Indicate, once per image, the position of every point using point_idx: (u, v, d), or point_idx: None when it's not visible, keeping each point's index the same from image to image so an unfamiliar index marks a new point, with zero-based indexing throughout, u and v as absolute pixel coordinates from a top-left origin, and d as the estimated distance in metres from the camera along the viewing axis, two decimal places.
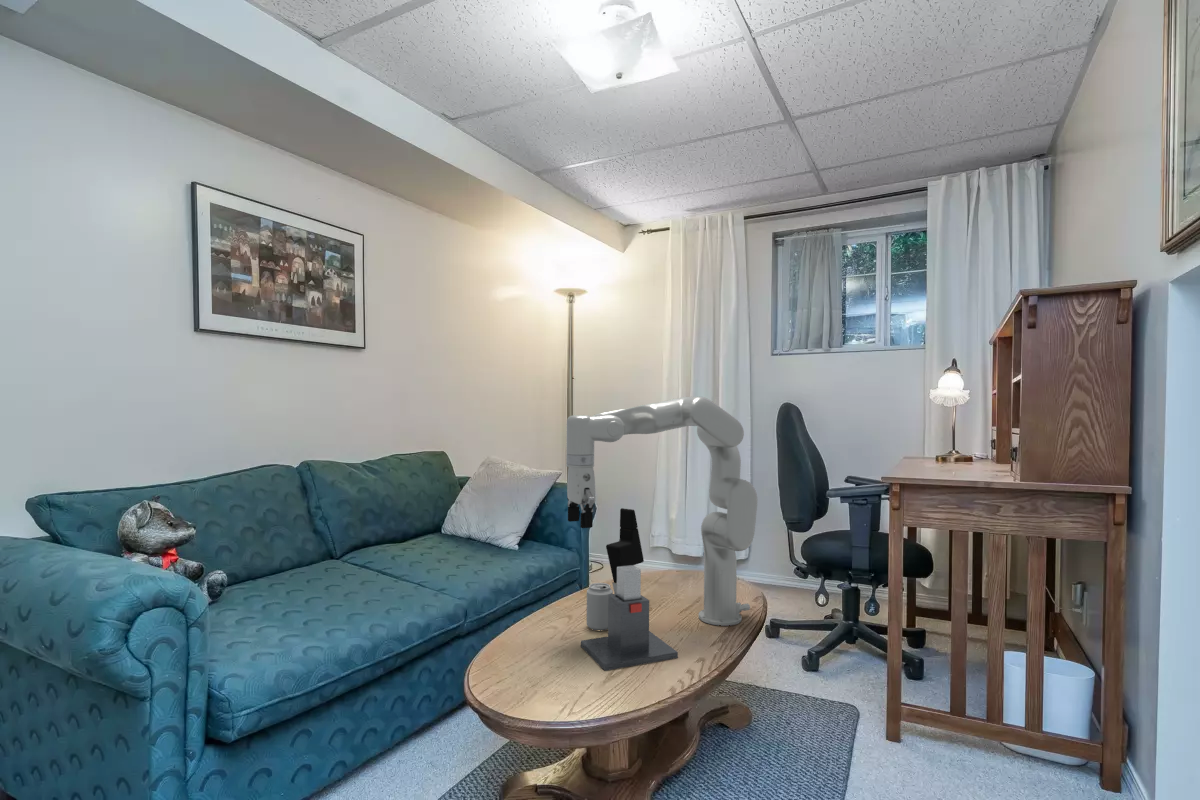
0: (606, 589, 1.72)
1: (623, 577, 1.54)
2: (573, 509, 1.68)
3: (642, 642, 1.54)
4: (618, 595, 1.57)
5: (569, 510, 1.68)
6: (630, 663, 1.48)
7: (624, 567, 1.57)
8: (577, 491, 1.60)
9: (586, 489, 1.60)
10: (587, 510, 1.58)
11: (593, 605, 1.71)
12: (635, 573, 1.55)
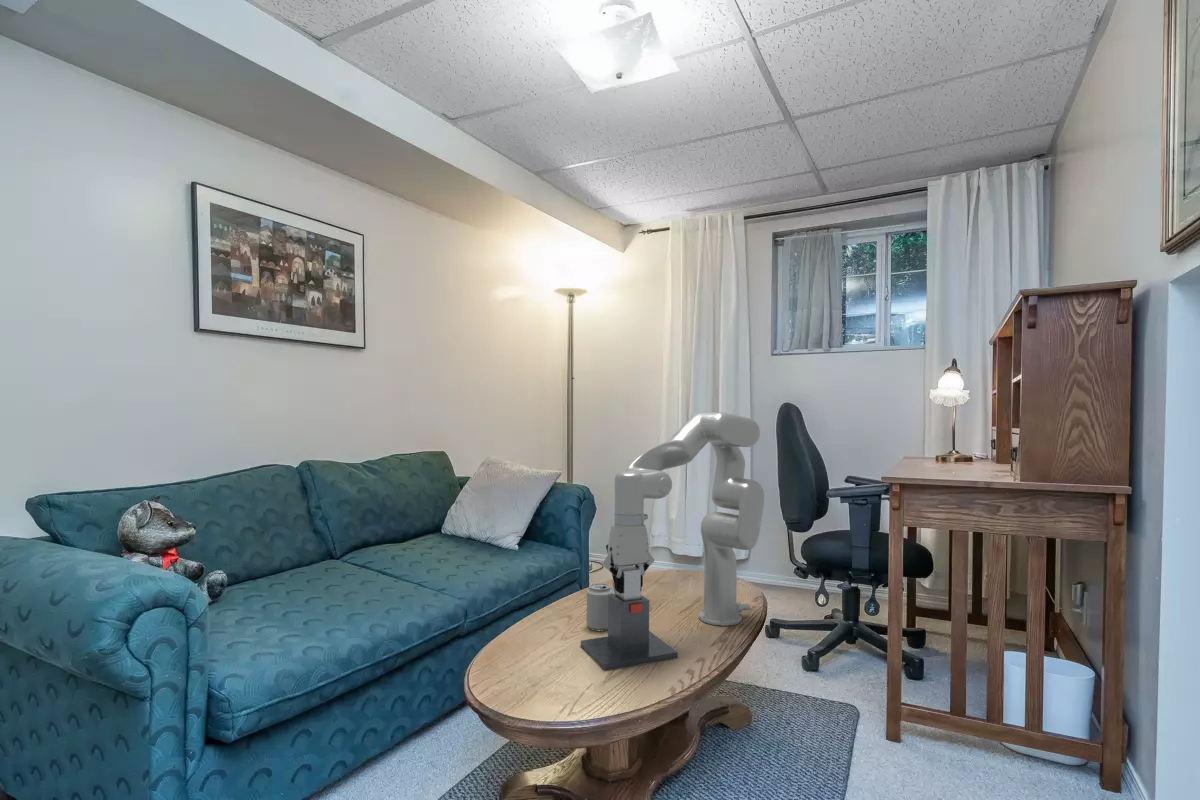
0: (606, 589, 1.72)
1: (623, 577, 1.54)
2: None
3: (642, 642, 1.54)
4: (618, 595, 1.57)
5: (622, 581, 1.54)
6: (630, 663, 1.48)
7: (624, 567, 1.57)
8: (645, 550, 1.56)
9: None
10: None
11: (593, 605, 1.71)
12: (635, 573, 1.55)
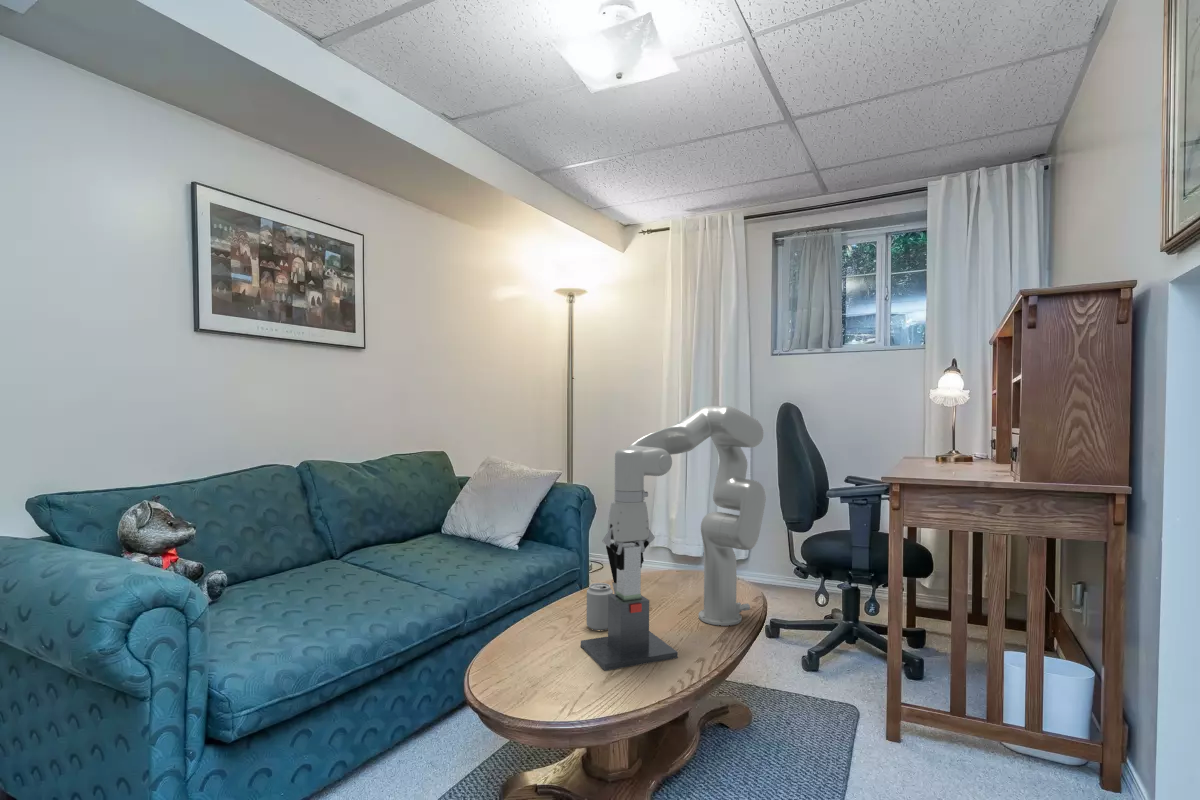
0: (606, 589, 1.72)
1: (623, 554, 1.54)
2: None
3: (642, 642, 1.54)
4: (618, 572, 1.57)
5: (622, 557, 1.54)
6: (630, 663, 1.48)
7: (624, 544, 1.57)
8: (645, 527, 1.56)
9: None
10: None
11: (593, 605, 1.71)
12: (635, 550, 1.55)
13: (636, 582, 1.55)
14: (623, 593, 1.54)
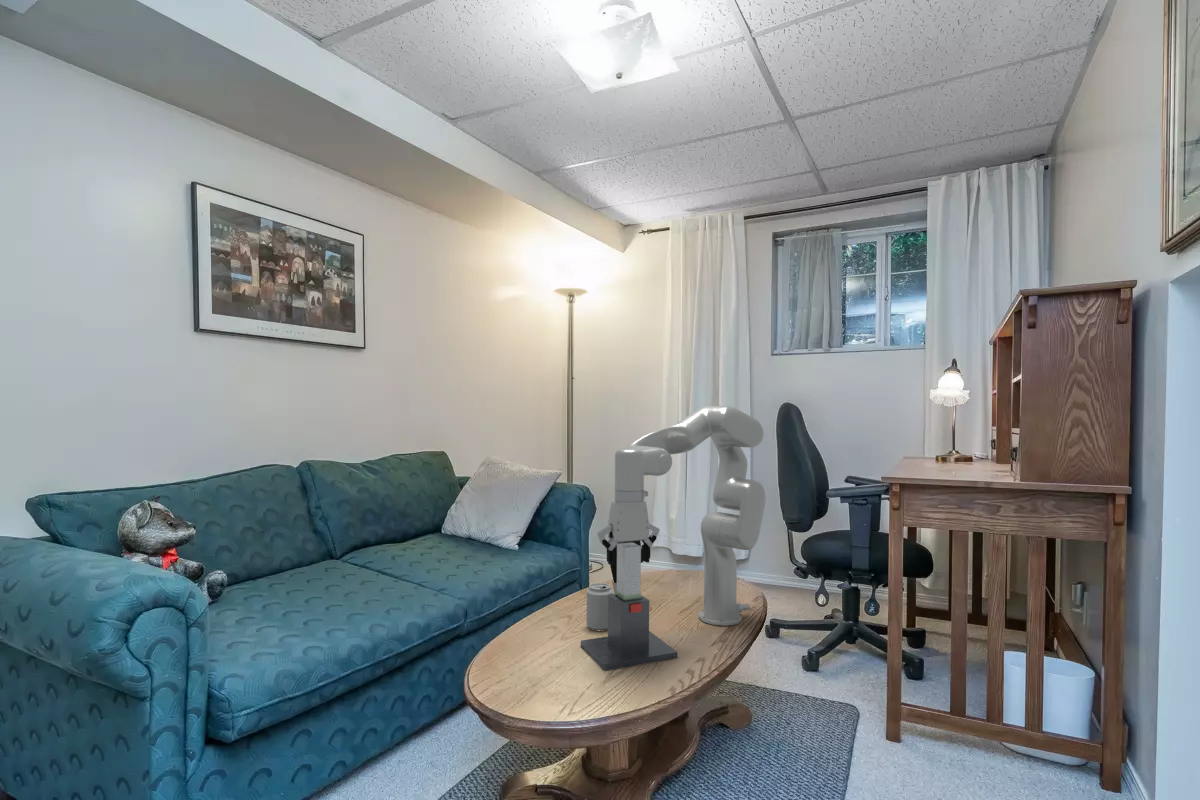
0: (606, 589, 1.72)
1: (623, 553, 1.54)
2: None
3: (642, 642, 1.54)
4: (618, 572, 1.57)
5: (614, 553, 1.54)
6: (630, 663, 1.48)
7: (624, 544, 1.57)
8: (645, 526, 1.56)
9: None
10: None
11: (593, 605, 1.71)
12: (635, 550, 1.55)
13: (636, 581, 1.55)
14: (623, 593, 1.54)
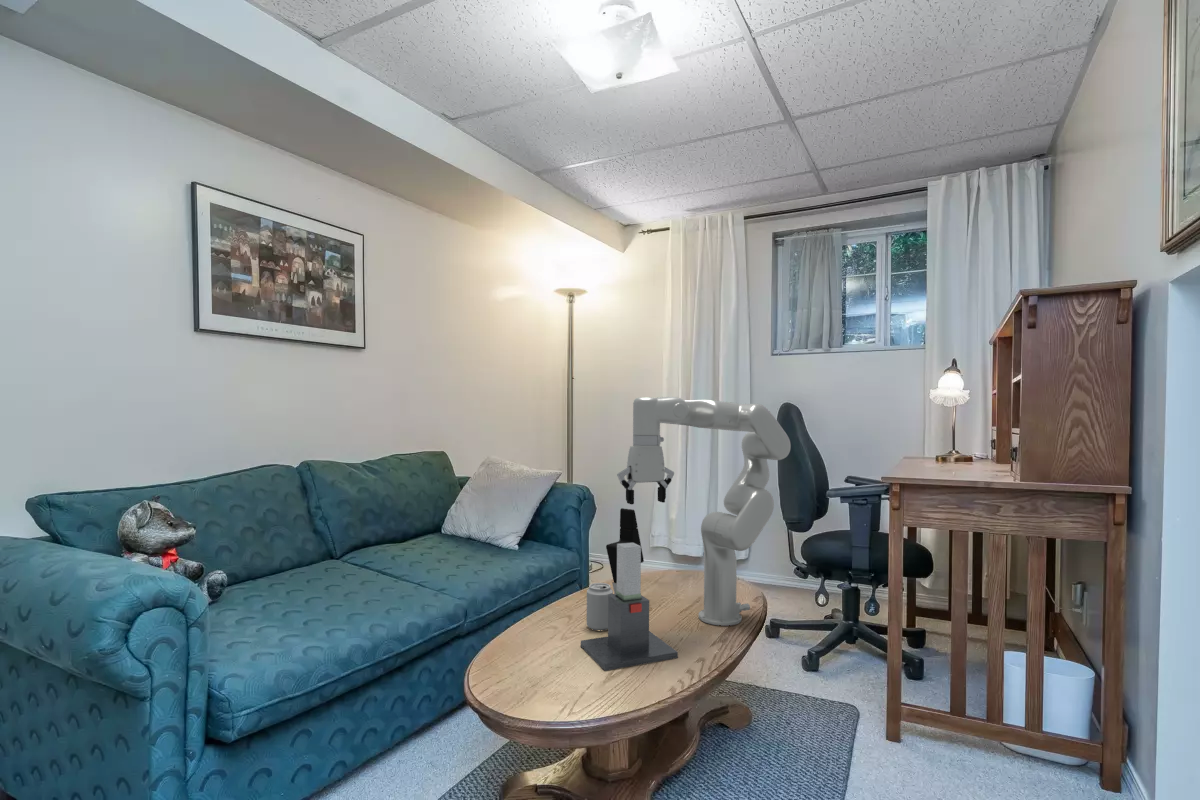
0: (606, 589, 1.72)
1: (623, 553, 1.54)
2: None
3: (642, 642, 1.54)
4: (618, 572, 1.57)
5: (633, 493, 1.67)
6: (630, 663, 1.48)
7: (624, 544, 1.57)
8: (661, 469, 1.69)
9: None
10: None
11: (593, 605, 1.71)
12: (635, 550, 1.55)
13: (636, 581, 1.55)
14: (623, 593, 1.54)
